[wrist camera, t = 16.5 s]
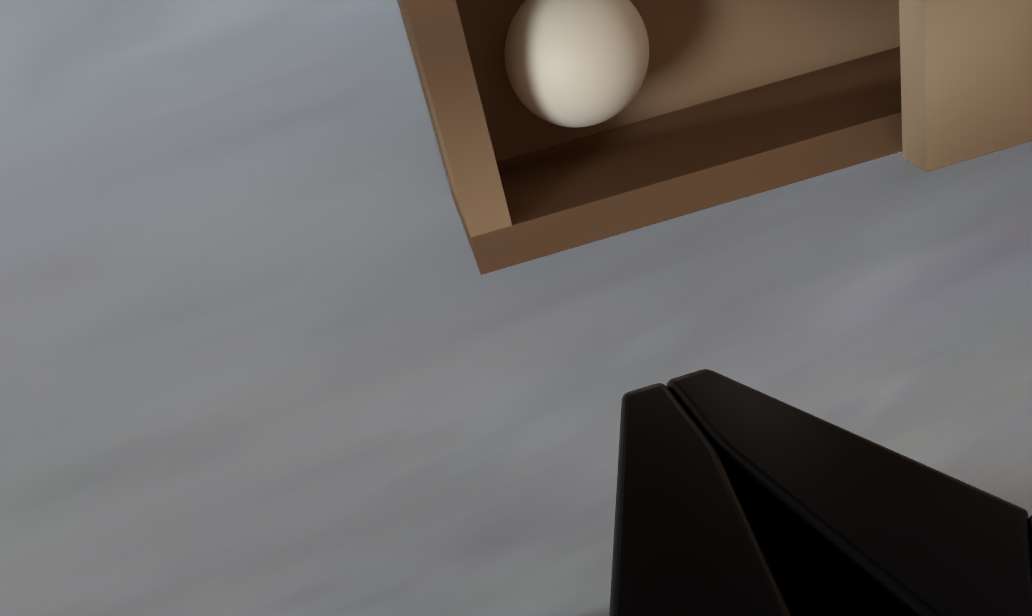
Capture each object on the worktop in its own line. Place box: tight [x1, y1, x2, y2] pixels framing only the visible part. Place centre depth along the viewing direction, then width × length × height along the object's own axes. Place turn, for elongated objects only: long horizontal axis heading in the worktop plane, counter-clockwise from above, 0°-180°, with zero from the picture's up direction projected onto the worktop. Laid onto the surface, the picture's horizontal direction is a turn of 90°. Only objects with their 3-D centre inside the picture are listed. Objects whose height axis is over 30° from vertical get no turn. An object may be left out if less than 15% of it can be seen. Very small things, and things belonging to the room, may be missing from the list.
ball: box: [504, 0, 649, 127], centre depth 18 cm, size 3×3×3 cm
